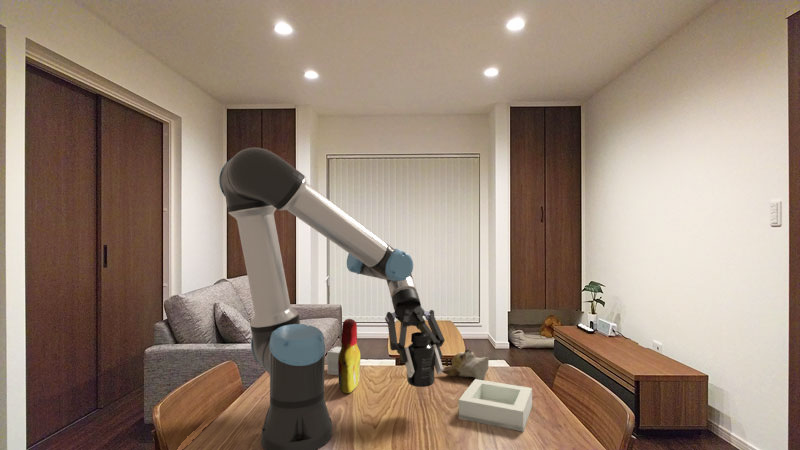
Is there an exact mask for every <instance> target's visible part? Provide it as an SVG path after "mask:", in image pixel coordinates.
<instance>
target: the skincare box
mask: <svg viewBox="0 0 800 450" xmlns="http://www.w3.org/2000/svg"><path fill="white" fill-rule="evenodd" d="M341 347H342V346H335V347H332V348H331V349H329V350H328V351H326V352H327V353H326V355H327V358H326V363H327V364H326V365H327V367H326V368H327V374H328V375H333V376H339V373H338V357H339V353H340V350H341Z"/></svg>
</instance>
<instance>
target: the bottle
mask: <svg viewBox="0 0 800 450" xmlns="http://www.w3.org/2000/svg"><path fill="white" fill-rule="evenodd" d="M341 328H342V329H341V341H340V342H341V343H340V344H341V346H340V347H341V350H340V353H339V357H338V373H339V375H338V385H339V389H340V390H341V392H342V393H345V394H351V393H352V392H353V391H354V390H355V389H356V388H357V386H358V385H359V382H360V379H361V375H360V374H361V373H360V372H361V351H360V348H359V347H358V325H357V322H356V320H355V319H352V318H347V319H345V320H344V321H343V322H342V327H341Z"/></svg>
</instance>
